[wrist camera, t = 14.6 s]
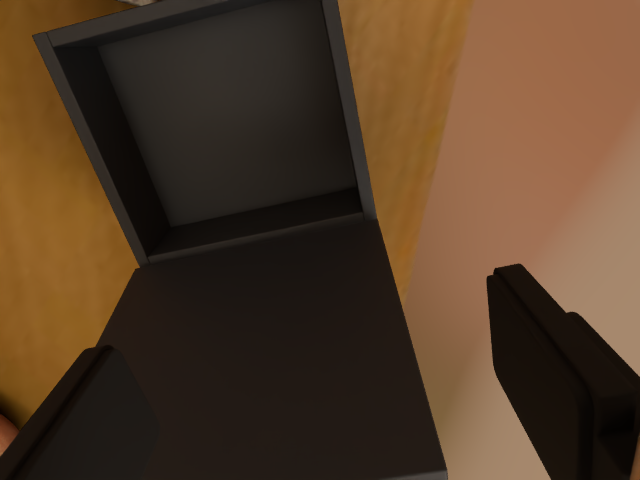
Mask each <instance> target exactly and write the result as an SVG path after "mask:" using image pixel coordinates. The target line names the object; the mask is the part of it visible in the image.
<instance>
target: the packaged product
mask: <svg viewBox="0 0 640 480" xmlns="http://www.w3.org/2000/svg"><path fill="white" fill-rule="evenodd" d="M116 1H119V2H123V3H126V4H131V5H136V6H142V5H146V4H150V3H154V2H157V0H116Z"/></svg>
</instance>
